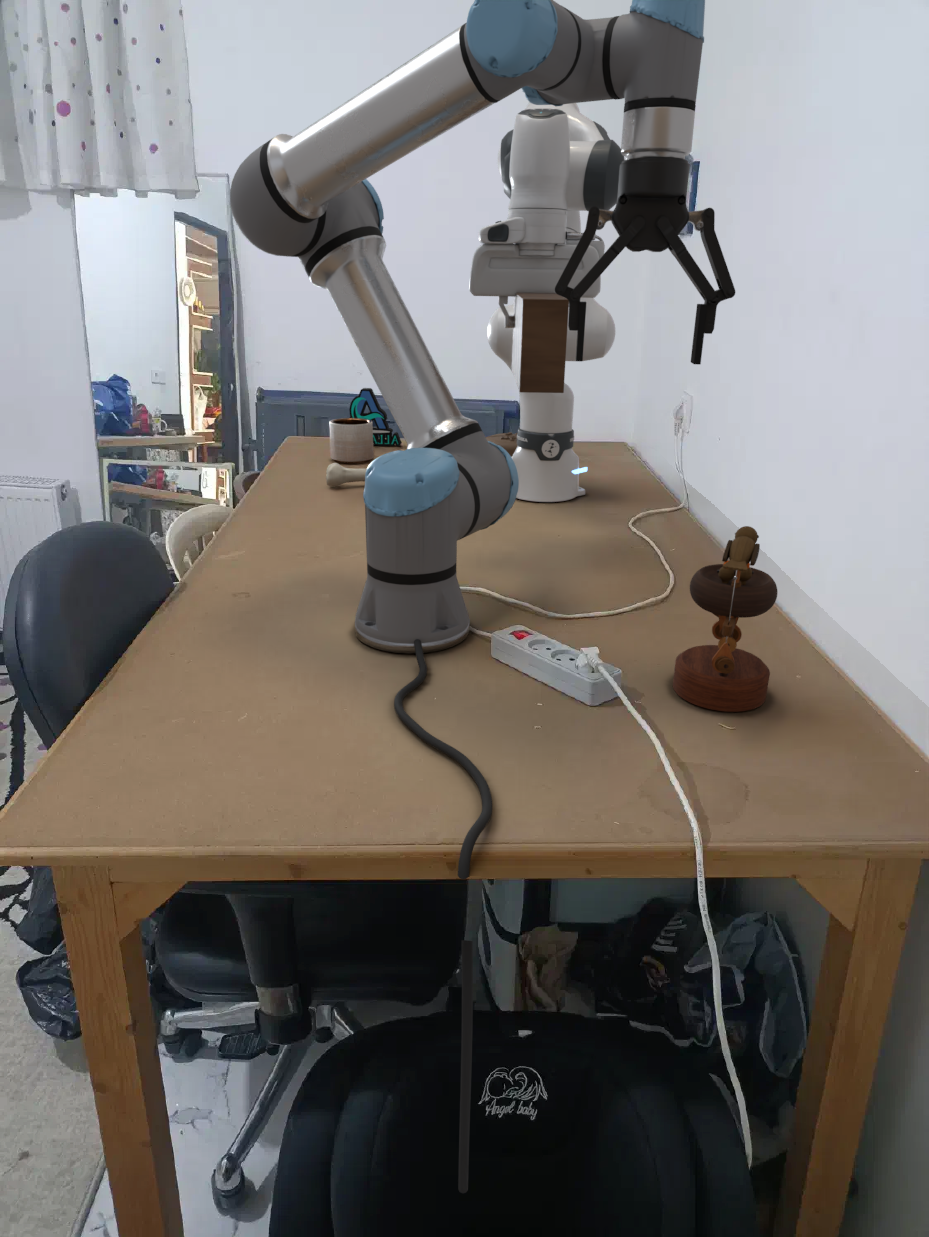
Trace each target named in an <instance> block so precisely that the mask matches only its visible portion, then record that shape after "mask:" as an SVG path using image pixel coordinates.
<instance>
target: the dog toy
mask: <svg viewBox="0 0 929 1237" xmlns="http://www.w3.org/2000/svg"><path fill="white" fill-rule="evenodd" d="M366 470H367V468H349V467H344V466H342V465H341V464H339V462H333V463H330V464H329V465H328V466H327V468H326V473H325V474H326V476H325V481H326V485H327V486H330V487H339V486H342V485H344V484H347V483H356V482H357V483H358V482H365V473H366Z"/></svg>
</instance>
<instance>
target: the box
mask: <svg viewBox="0 0 929 1237" xmlns="http://www.w3.org/2000/svg"><path fill="white" fill-rule="evenodd" d="M513 305H514V313H513V316H515V317H514V328H513V342H512V371H513V373H512V375H513V374H514V375H513V377H514V380H515V382H516V385H517V390H518V393H519V392H527V393H564V383H565V377H566V376H565V374H566V361H565V360H566V343H567V326H568V308H569V301H568V299H566V298H564V297H562V296H560V295H558V294H556V293H520V292H516V295H515V297H513ZM512 371H511V372H512Z"/></svg>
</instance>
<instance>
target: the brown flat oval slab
mask: <svg viewBox="0 0 929 1237" xmlns="http://www.w3.org/2000/svg"><path fill="white" fill-rule="evenodd" d="M517 433H518V432H515V433H513V432H512V431H509V432H502V433H496V434H491V435H487V436H485V437H486V439H487V441H490V442H492V443H494V444H496V445H499V446H501V447H502V448H504V449H505V450H506V451H507V452H508V453H509V455H510V456H511V457H512V456H513V454H514V452H515V450H516V448H517V446H518V445H517Z"/></svg>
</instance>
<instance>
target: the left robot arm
mask: <svg viewBox="0 0 929 1237" xmlns="http://www.w3.org/2000/svg"><path fill="white" fill-rule="evenodd" d="M705 9H706V0H631V5H630V6H629V13H625V14H621V15H616V16H612V17H603V18H601V17H600V18H592V19H585V18H582V17H581V16H579V15H577V13H574V12H573V11H572V10H570V9H569V8H566V7H565V6H563V5H561V4H559V3H558V2H556V1H555V0H474V1H473V3H472V4H471V6H470V8H469V10H468V14H467V18H466V22H465V23H463V24H462V25H460V26H459V27H457V28H456V29H454V30H453V31H451V32H450V33H448V34H446V35H445V36H444V37H441V39H439V40H437V41H436V42H435V43H433V44H432V45H430V46H428V47H426V48H425V49H424V50H422V51H420V52H419V53H418V54H417V55H415V56H414V57H412V58H410V59H408V60H407V61H406V62H405V63H403V64H401V65H400V66H397V67H396V68H395V69H393V70H392V71H391V72H388V73H387V74H386V75H385V76H383V77H381V78H379V80H377V81H375V82H374V83H372V84H370V85H369V86H368V87H366V88H365V89H363V90H362V91H360V92H358V93H357V94H355V95H354V96H352V97H351V98H350V99H348V100H347V101H345V102H343V103H342V104H340V105H339V106H337V107H336V108H334V109H333V110H332V111H330V112H329V113H327V114H325V115H323V116H322V117H321V118H319V119H318V120H316V121H315V122H313V123H311V124H310V125H308V126H307V127H305V128H304V129H303V130H301V131H299V132H298V133H296V134H295V135H291V134H287V133H279V134H277V135H275V136H273V137H272V138H270V139H269V140H267V141H266V142H265V143H263V144H262V145H260V146H259V147H258V148H256V149H255V150H253V151H252V152H251V153H249V155H248V156H247V157H246V158H245V159H244V160H243V161H242V162H241V163H240V165H239V166H238V167H237V169H236V172H235V173H234V175H233V178H232V181H231V185H230V190H229V205H230V210H231V214H232V217H233V220H234V222H235V225H236V226H237V228H238V230H239V231H240V234H242V236H243V237H244V238H245V239H246V240H247V241H248V243H250V244H251V245H253V246H254V247H255V248H257V249H258V250H259V251H262V252H264V253H266V254H270V255H273V256H276V257H286V258H287V257H289V258H298V260H299V262H300V263H301V265H302V268H303V270H304V271H305V273H306V276H307V278H308V279H309V281H310V283H311V284H312V285H313V286H315V287H317V288H321V289H324V290H326V291H328V293H329V295H330V297H331V300H332V301H333V303H334V305H335V307H336V309H337V311H338V313H339V315H340V317H341V319H342V321H343V323H344V324H345V326H346V328H347V330H348V332H349V334H350V336H351V338H352V340H353V342H354V344H355V346H356V348H357V349H358V351H359V354H360V356H361V357H362V359H363V361H364V363H365V365H366V367H367V369H368V371H369V373H370V375H371V377H372V379H373V381H374V382H375V384H376V386H377V388H378V390H379V392H380V394H381V396H382V398H383V400H384V402H385V403H386V405H387V407H388V409H389V412H390V413H391V415H392V417H393V419H394V422H395V423H396V426H398V429H399V430H400V432H401V434H402V436H403V438H404V440H405V443H406V444H407V446H406V447H407V448H406V449H404V450H400V449H398V450H393V451H389V452H386V453H384V454H381V455H379V456H378V457H376V458H374V459H372V460H371V461H370V463H369V464H368V466H367V468H366V469H367V470H366V473H365V481H364V488H363V492H362V493H363V494H362V498H363V503H364V515H365V516H364V517H365V518H364V520H365V545H366V546H365V548H366V579H365V584H364V586H363V589H362V592H361V596H360V600H359V602H358V606H357V609H356V612H355V618H354V633H355V636H356V638H357V639H358V640H359V641H360V642H362V643H363V644H365V645H367V646H368V647H371V648H374V649H377V650H380V651H384V652H390V653H396V654H397V653H398V654H415V658H416V662H417V666H418V671H419V672H418V674H417V675H416V676H415V678H414V679H413V680H411V681H410V682H409V683H407V684H406V685H405V686H403V687H402V688H400V690H399V691H398V692H397V693H396V695H395V696H394V700H393V707H394V708H393V709H394V711H395V713H396V716H397V717H398V718H399V720H400V721H401V722H402V723H403V724H404V725H405V726H406V727H407V728H408V729H410V731H411V732H413V733H414V734H415V735H416V736H417V737H418V738H419V739H420V740H422V741H423V742H425V743H426V744H428V745H429V746H431V747H432V748H434V749H437V750H438V751H439V752H440V753H443V754H445V755H446V756H448V757H449V758H451V759H453V760H454V761H456V762H457V763H458V764H459V765H461V767H462V768H464V770H465V771H466V772H467V773H468V774H469V776H471V778H472V779H473V781H474V782H475V784H476V785H477V788H478V790H479V794H480V798H481V812H480V814H479V816H478V818H477V819H476V820H475V822H474V823H473V824H472V825H471V827H470V828H469V830H468V831H467V833H466V835H465V836H464V838H463V839H464V840H463V842H462V845H461V849H460V853H459V857H458V864H457V877H458V879H461V880H466V879H468V878H469V877H470V868H471V867H470V866H471V860H472V855H473V850H474V847H475V845H476V842H477V840H478V838H479V836H480V835H481V833H482V832H483V831H484V830H485V828H486V827H487V826H488V824H489V822H490V820H491V817H492V813H493V797H492V792H491V789H490V786H489V784H488V782H487V780H486V778H485V776H484V775H483V773H481V771H480V770H479V768H478V767H477V766H476V765H475V764H474V763H473V762H472V761H471V760H470V759H469V758H468V757H467V756H466V755H465V754H464V753H462V752H461V751H460V750H458V749H457V748H455V747H453V746H451V745H450V744H448V743H446V742H444V741H443V740H440V739H439V738H437V737H435V736H434V735H433V734H431V733H430V732H428V731H427V730H425V729H424V728H423V727H422V726H421V725H420V724H418V722H416V721H415V720H414V719H413V718H412V717H411V716H410V715H409V714H408V713H407V712H406V710H405V708H404V705H403V701H404V699H405V697H406V696H407V695H408V694H411V692H413V691H414V690H416V689H417V688H418V687H419V686H420V685H421V684H423V682H424V680H425V679H426V677H427V674H428V666H427V663H426V659H425V655H424V654H425V653H433V652H439V651H443V650H446V649H449V648H452V647H455V646H457V645H458V644H460V643H462V642H463V641H464V640H466V639H467V637H468V636H469V634H470V616H469V612H468V608H467V606H466V601H465V599H464V596H463V593H462V589H461V586H460V583H459V581H458V577H457V561H458V560H457V559H458V558H457V557H458V556H457V554H458V541H460V540H462V539H464V538H467V537H469V536H470V535H473V534H475V533H477V532H479V531H482V530H485V529H489V527H491V526H493V525H495V524H496V523H497V522H499V520H501V519H503V518H504V517H505V516H506V515H507V514H508V513H509V512H510V511H511V509H512V507H513V506H514V504H515V502H516V499H517V498H516V495H517V492H518V486H519V479H518V472H517V468H516V465H515V463H514V461H513V459H512V457H511V456H510V455H509V453H508V452H507V451H506V450H505V449H504V448H502V447H501V446H499V445H496V444H494V443H492V442H490V441H487V439H486V437H487V436H486V435H485V433H484V431H483V429H482V427H481V425H480V423H479V422H478V420H475V419H473V418H469V417H466V416H465V415H463V414H462V413H461V411H460V409H459V406H458V405H457V402H456V401H455V399H454V397H453V395H452V393H451V391H450V389H449V387H448V385H447V384H446V381H445V379H444V376H442V374H441V372H440V370H439V367H438V365H437V363H436V361H435V360H434V358H433V356H432V354H431V351H430V350H429V349H428V346H427V344H426V342H425V340H424V339H423V337H422V335H421V333H420V331H419V328H418V327H417V324H416V323H415V321H414V319H413V317H412V315H411V313H410V310H409V309H408V307H407V304H406V303H405V301H404V299H403V297H402V295H401V293H400V292H399V290H398V287H397V286H396V284H395V282H394V280H393V278H392V276H391V274H390V272H389V270H388V269H387V266H386V264H385V262H384V260H383V258H384V254H385V251H386V248H387V242H386V240H385V238H384V235H383V233H384V226H383V220H384V219H385V216H384V208H383V204H382V201H381V198H380V196H379V194H378V192H377V190H376V189H375V187H374V186H373V184H372V183H371V182H370V181H369V180H368V178H370V177H372V176H373V175H376V174H377V173H379V172H381V171H382V170H384V169H385V168H388V167H389V166H390V165H392V164H394V163H396V162H397V161H399V160H401V159H402V158H405V157H406V156H407V155H409V154H411V153H413V152H414V151H416V150H418V149H419V148H421V147H423V146H424V145H426V144H428V143H430V142H431V141H433V140H434V139H437V138H438V137H440V136H441V135H443V134H445V133H446V132H448V131H450V130H452V129H453V128H455V127H457V126H458V125H460V124H462V123H463V122H465V121H467V120H468V119H470V118H472V117H474V116H476V115H477V114H479V113H481V112H482V111H484V110H486V109H487V108H489V107H491V106H492V105H494V104H496V103H498V102H501V101H502V100H503V99H506V98H507V97H509V96H511V95H513V94H514V93H516V92H518V91H519V90H521V92H523V93H524V97H525V98H526V100H527V101H528V103H529V102H530V103H532V104H534V105H554V106H562V105H563V104H570V103H577V104H579V103H588V102H599V101H600V102H601V101H608V100H615V101H616V100H623V99H624V106H623V117H622V118H623V119H622V131H621V142H620V143H621V145H620V148H621V154H622V155H623V156H624V158H625V160H624V161H622V164H620V169H619V181H618V194H617V204H616V205H615V206H614V207H615V208H614V209H613V210H611V209H610V210H603V209H599V208H598V207H592V208H590V210H589V211H587V216H586V217H587V218H586V225H585V229H584V231H583V232H582V233H583V235H582V237H581V239H580V241H579V242H578V244H577V246H576V248H575V250H574V252H573V254H572V256H571V258H570V260H569V262H568V263H567V265H566V267H565V269H564V271H563V273H562V275H561V277H560V279H559V281H558V283H557V284H556V286H555V292H556V294H558V295H560V296H562V297H565V298H567V299H568V301H569V318H568V327H569V330H572V331H577V346H576V361H575V362H584V361H583V347H584V332H585V316H586V302H580V298H581V297H582V296H583V295H584V293H585V292H586V291H587V290H588V289H589V288H590V287H591V285H592V284H593V283H594V282H595V281H596V280H597V279H598V277H599V276H600V275H602V274H603V273H604V272H605V271H606V269H608V268H609V266H610V265H611V264H612V263H613V262H614V260H615V259H616V258H617V257H618V256H619V255H620V254H621V253H622V251H623V250H624V249H625V248H626V249H627V250H628V251H631V252H634V253H640V252H643V251H648V252H651V253H661V252H664V251H666V250H667V249H668V250H669V252H670V253H671V255H672V256H673V257H674V258H675V260H676V261H677V262H678V264H679V265H680V267H681V269H682V270H683V271H684V273H685V274H686V276H687V277H688V279H689V281H691V283H692V285H693V286H694V287H695V289H696V290H697V292H698V293H699V295H700V296H701V297H702V299H703V301H704V303H697V304H696V309H695V310H696V311H695V318H694V327H693V337H692V345H691V355H690V363H691V364H692V365H701V364H702V354H703V346H704V337H705V334H707V335H708V334H711V335H712V334H713V332H714V331H715V324H716V316H717V307H718V305H719V304H720V303H721V302H722V301H725V300H728V299H732V298H734V296H735V295H736V288H735V285H734V283H733V279H732V277H731V273H730V271H729V268H728V264H727V262H726V260H725V256H724V253H723V251H722V248H721V245H720V242H719V239H718V236H717V233H716V231H715V223H716V222H715V221H716V220H715V219H716V218H715V216H716V213H715V210H714V209H713V208H712V207H706V208H704V209H702V210H692V211H689V210H688V207H687V196H688V187H689V186H688V185H689V178H690V169H691V168H690V167H691V164H690V163H689V161H688V160H687V159H686V157H688V156H689V155H690V154H691V153H692V149H693V140H694V129H695V118H696V107H697V106H696V104H697V103H696V102H697V95H698V89H699V88H698V86H699V80H700V79H699V78H700V72H701V71H700V69H701V63H702V53H703V46H704V43H705V36H704V29H705V28H704V27H705V11H706V10H705ZM608 222H611V224H612V226H613V227H614V230H615V231H616V233H617V234H618V237H617V238H616V239H615V240H614V242H612V244H611V245H610V246H609V247H608V248H607V250H606V251H604V254H603V256H602V257H601V258H600V259H599V260H598V261H597V263H596V264H595V265H594V266H593V267H592V268H591V269H590V271H589V272H588V273H587V274H586V275H585V276H584V278H583V279H582V280H581V281H580V282H579V283H578V284H577V286H576V287H575V288H574V289H573V288H570V287H568V285H569V283H570V281H571V279H572V277H573V275H574V273H575V271H576V269H577V268H578V266H579V264H580V262H581V260H582V258H583V256H584V254H585V252H586V251H587V249H588V247H589V245H590V243H591V241H593V240H592V239H593V237H594V235H595V234H596V232H597V231H601V230H602V229H603V228H604V227H605V225H606V224H607V223H608ZM688 223H691V224H692V226H693V229H694V230H695V231H696V232H699V234H700V238H701V242H702V245H703V248H704V250H705V253H706V256H707V258H708V261H709V265H710V266H711V270H712V273H713V276H714V279H715V282H716V284H717V287H718V289H716V290H715V289H714V287H713V286H712V284H711V283H710V281H709V279H708V278H707V277H706V275H705V274H704V273H703V271H702V270H701V268H700V266H699V265H698V264H697V262H696V261H695V259H694V258H693V256H692V255H691V254H690V252H689V250H688V249H687V246H686V245H685V244H684V242H683V240H682V238H680V236H679V235H680V234H681V232H682V231H683V230H684V229H685V227H686V226H687V225H688ZM473 942H474V941H473V940H467V939H466V940H465V939H461V1048H460V1050H461V1051H460V1053H461V1054H460V1089H459V1090H460V1093H459V1096H460V1098H459V1132H458V1134H459V1135H458V1180H457V1182H458V1183H457V1186H458V1188H457V1189H458V1191H459V1193H461V1194H466V1193H467V1192H468V1191H469V1167H470V1166H469V1164H470V1163H469V1162H470V1161H469V1160H470V1159H469V1158H470V1130H471V1128H470V1126H471V1099H472V1097H471V1094H472V1064H473V1063H472V1062H473V1022H474V1021H473V1019H474V1018H473V1015H474V1014H473V1013H474V1011H473V1010H474V1008H473V1007H474V1005H473V1003H474V946H473V944H474V943H473Z"/></svg>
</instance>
